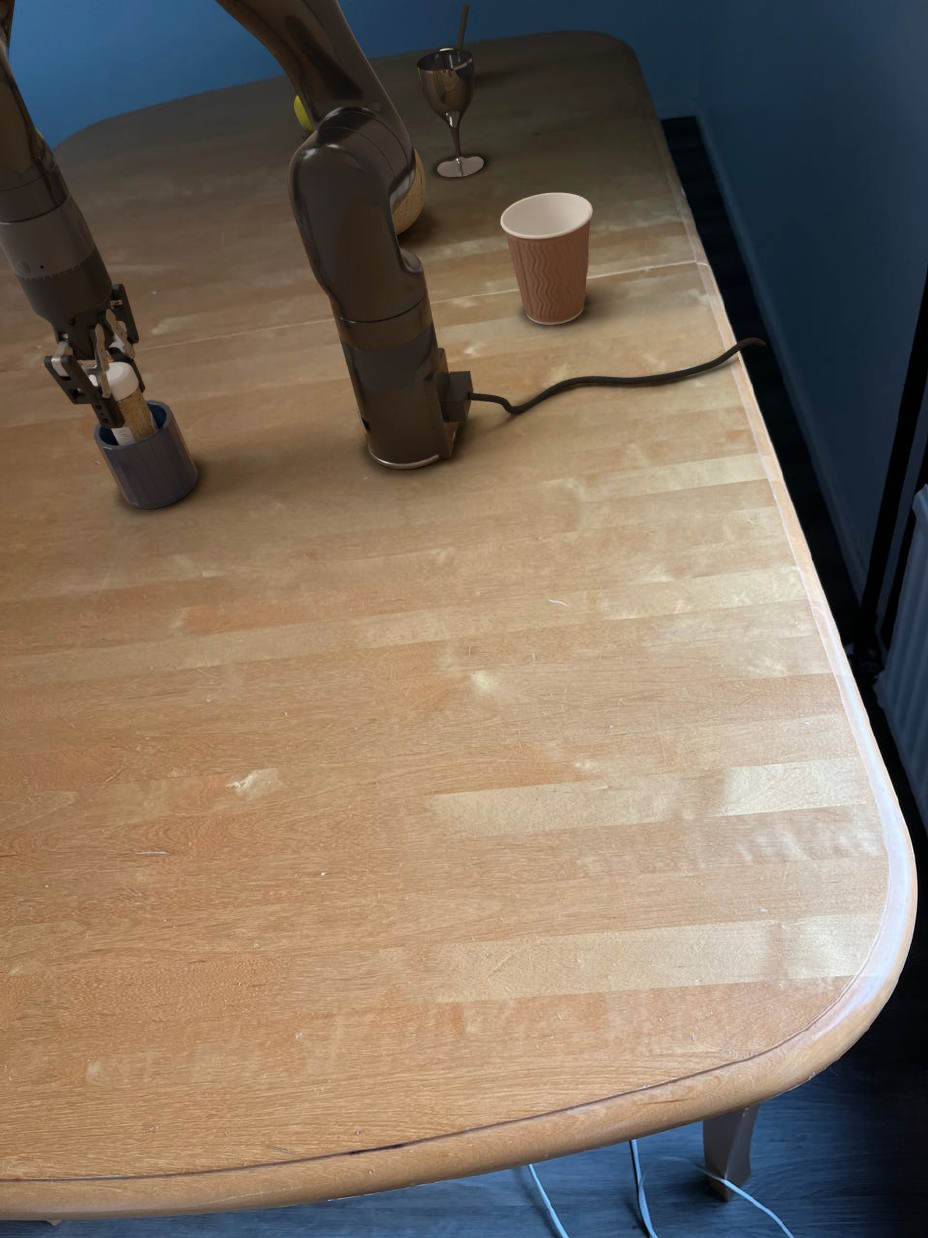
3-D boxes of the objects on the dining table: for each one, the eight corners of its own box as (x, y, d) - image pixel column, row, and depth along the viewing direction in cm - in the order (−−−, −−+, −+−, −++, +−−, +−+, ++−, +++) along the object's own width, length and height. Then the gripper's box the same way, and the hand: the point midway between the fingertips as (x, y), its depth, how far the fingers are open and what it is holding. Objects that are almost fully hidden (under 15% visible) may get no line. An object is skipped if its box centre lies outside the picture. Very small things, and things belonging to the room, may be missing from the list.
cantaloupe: (373, 272, 135) (347, 159, 125) (310, 243, 144) (281, 134, 133) (456, 226, 141) (438, 114, 130) (391, 200, 149) (369, 93, 139)
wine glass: (496, 157, 154) (483, 50, 143) (468, 180, 150) (452, 72, 139) (452, 152, 158) (436, 47, 147) (424, 175, 154) (405, 68, 143)
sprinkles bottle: (185, 479, 109) (138, 372, 100) (146, 498, 108) (94, 392, 98) (170, 459, 112) (122, 354, 102) (132, 478, 111) (80, 373, 101)
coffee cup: (615, 300, 122) (611, 202, 113) (561, 342, 118) (552, 244, 109) (549, 279, 128) (540, 184, 119) (494, 318, 123) (481, 223, 114)
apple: (353, 138, 167) (342, 87, 161) (299, 146, 168) (286, 96, 162) (357, 119, 172) (347, 69, 167) (305, 127, 174) (292, 77, 168)
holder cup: (207, 459, 112) (182, 398, 106) (183, 508, 107) (155, 447, 101) (139, 460, 114) (111, 401, 108) (112, 509, 109) (81, 450, 103)
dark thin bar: (428, 100, 174) (415, 23, 165) (424, 88, 178) (411, 11, 169) (482, 89, 173) (473, 11, 165) (477, 76, 178) (467, 0, 169)
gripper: (57, 292, 86) (134, 453, 98) (120, 211, 95) (183, 366, 107) (-22, 297, 87) (64, 454, 99) (48, 216, 97) (118, 369, 109)
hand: (125, 408), depth 103 cm, fingers open, 5 cm apart
